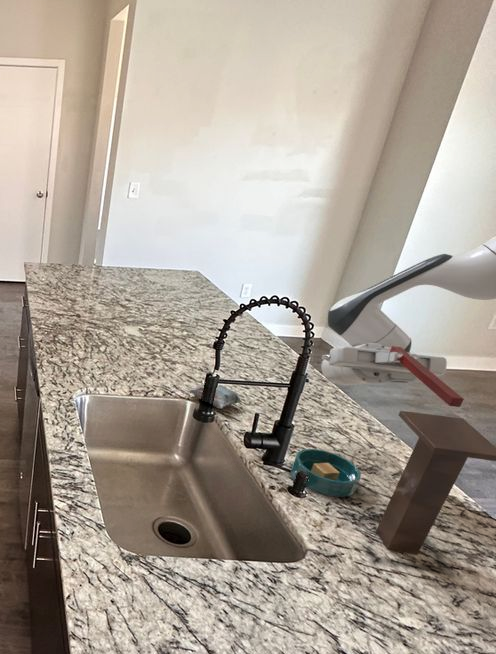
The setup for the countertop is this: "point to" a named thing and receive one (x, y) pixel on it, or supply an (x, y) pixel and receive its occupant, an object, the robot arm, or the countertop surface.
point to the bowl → (320, 484)
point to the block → (325, 471)
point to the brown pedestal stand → (429, 477)
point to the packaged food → (218, 396)
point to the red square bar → (429, 378)
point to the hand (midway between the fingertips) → (407, 357)
